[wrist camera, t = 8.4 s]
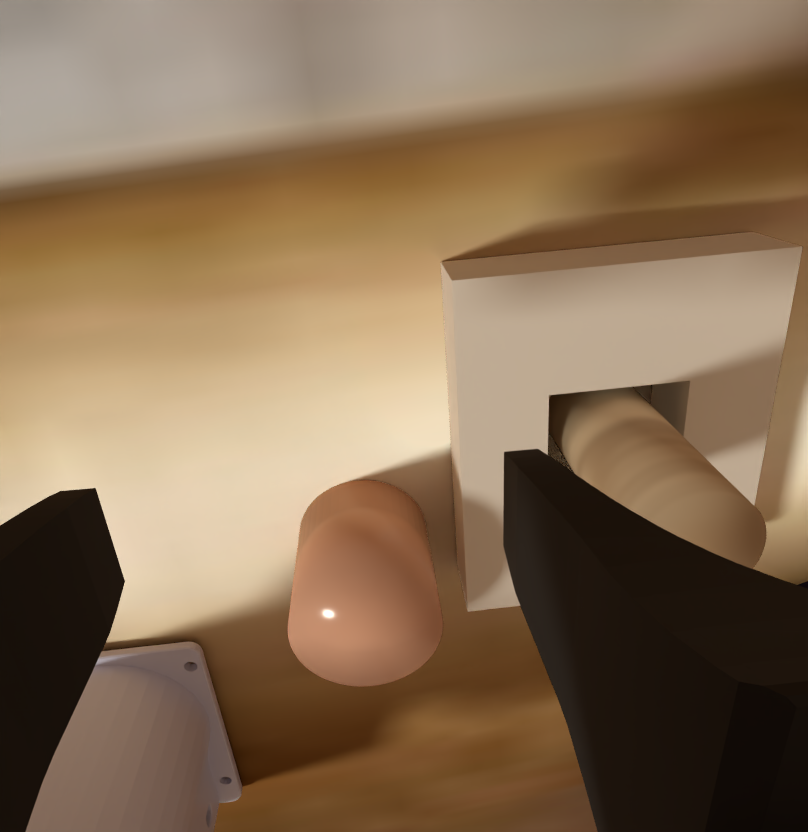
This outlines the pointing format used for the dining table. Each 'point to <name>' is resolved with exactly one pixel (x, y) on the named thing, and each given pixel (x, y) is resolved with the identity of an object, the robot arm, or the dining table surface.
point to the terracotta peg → (364, 586)
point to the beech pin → (654, 471)
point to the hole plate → (607, 361)
